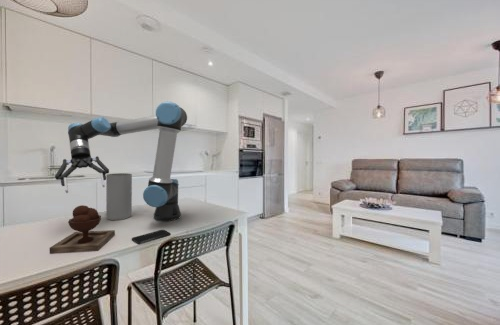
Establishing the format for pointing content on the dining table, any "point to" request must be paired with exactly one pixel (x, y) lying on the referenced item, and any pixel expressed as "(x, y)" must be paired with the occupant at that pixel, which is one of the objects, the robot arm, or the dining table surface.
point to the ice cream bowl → (84, 222)
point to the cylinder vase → (118, 196)
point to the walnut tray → (72, 246)
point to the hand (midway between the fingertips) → (85, 188)
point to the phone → (150, 237)
